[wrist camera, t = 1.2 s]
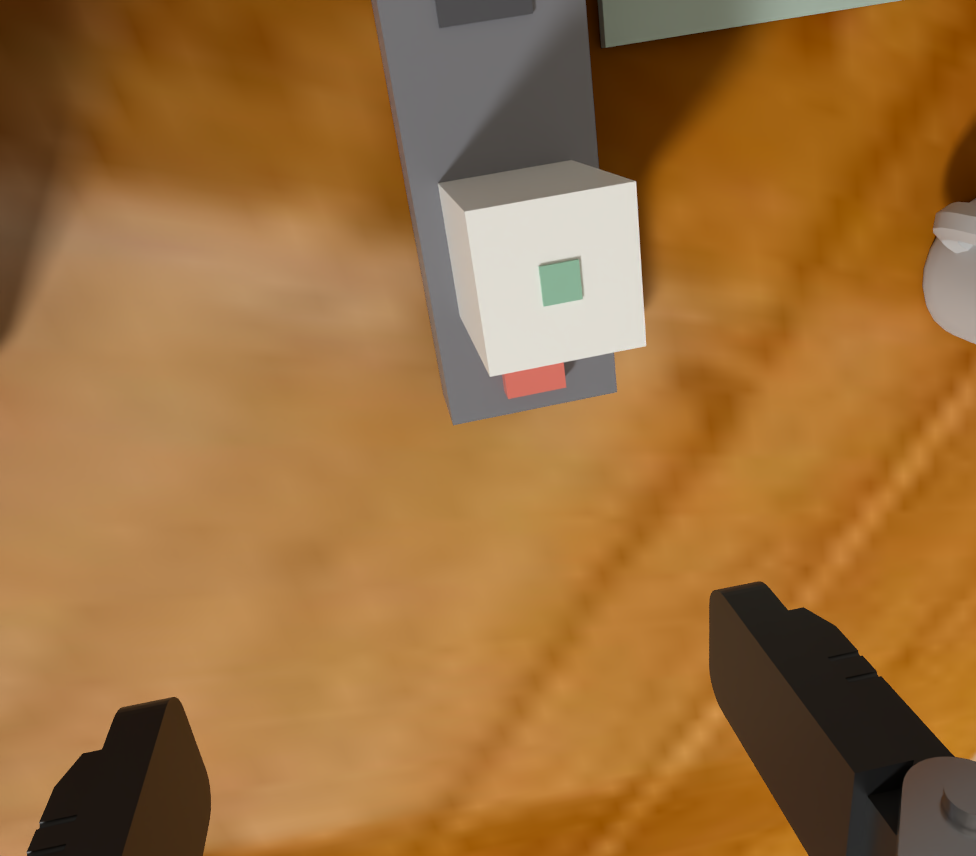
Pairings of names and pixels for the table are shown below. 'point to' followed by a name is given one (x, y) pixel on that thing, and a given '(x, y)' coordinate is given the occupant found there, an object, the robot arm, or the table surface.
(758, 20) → the rubber mat
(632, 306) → the block
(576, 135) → the power strip
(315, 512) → the table surface
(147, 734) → the robot arm
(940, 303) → the cup
